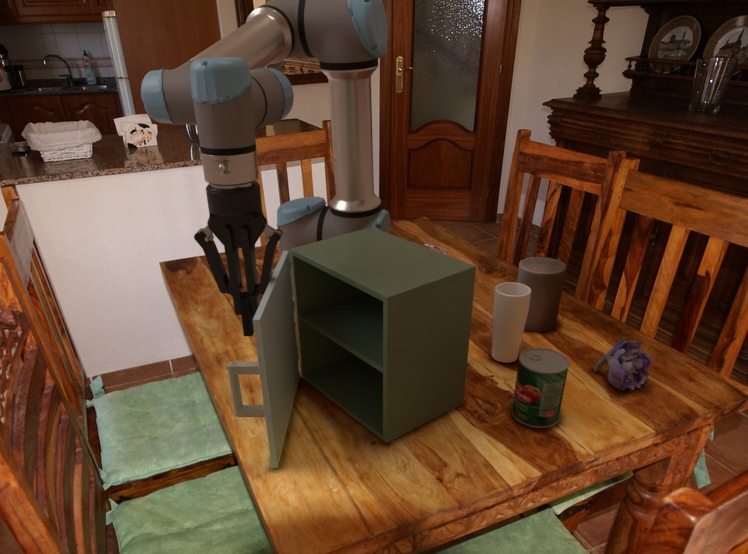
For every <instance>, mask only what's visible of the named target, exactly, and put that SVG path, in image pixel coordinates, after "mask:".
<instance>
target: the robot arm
mask: <svg viewBox="0 0 748 554" xmlns="http://www.w3.org/2000/svg"><path fill="white" fill-rule="evenodd" d="M388 41H389V29H388V20H387V14H386V9H385V6H384V3H383V1H382V0H269V1H267V2H265V3H263V4H261V5H260V6H258V7H256V8H255V9H253V10H252V11H251V12H250V14H248V16H247V17H246V19H245V23H244V24H242V25H241V26H239V27H238V28H236V29H235V30H233V31H231V32H230V33H229V34H227V35H225V36H224V37H222V38H221V39H219V40H218V41H216V42H215V43H213V44H212V45H210V46H208V47H207V48H206V49H204V50H203V51H201V52H199V53H197V54H196V55H195V56H193V57H192V58H190V59H189V60H187V61H186V62H184V63H182V64H181V65H179V66H177V67H176V68H173V69H167V68H160V69H155V70H150V71H148V72H147V73H146V74H145V75H144V77H143V79H142V81H141V86H140V97H141V102H142V103H143V107H144V110H145V112H146V113H147V115H148V116H149V117H150V118H151V119H152V120H153V121H154V122H157V123H160V124H169V125H173V126H178V125H187V126H189V125H192V126H195V125H196V127H197V132H198V138H199V139H198V141H199V150H200V157H201V164H202V171H203V176H204V177H203V178H204V181H205V182H206V183H208V184H207V185H206V187H205V193H206V201H207V208H208V213H209V215H208V220H207V222H206V224H207V225H206V226H204V227H202V228H199V229H198V230H197V231H196V232H195V234H194V235H193V239H194V241H195V242H196V243H197V244H198V245H199V246H200V247H201V249H202V251H203V253H204V256H205V258H206V261H207V263H208V266H209V267H210V271H211V274H212V276H213V278H214V281H215V283H216V286H217V288H218V291H219V292H220V293H221V294H224V295H225V294H228V295H230V296H231V297H232V301H233V308H234V309H233V311H234V314H235V315H236V316H241V324H242V330H243V331H242V332H243V337H253V336H254V335H255V334H254V326H253V318H254V316H255V314H256V311H257V309H258V307H259V304H260V295H264V293H265V291H266V289H267V286H268V284H269V282H270V280H271V277H272V275H273V269H274V262H275V257H276V250H277V245H279V255H280V257H281V255H282V252H283V251H289V260H290V271H291V283H292V295H293V304H294V293H293V281H292V270H291V258H290V249H291V248H295V247H299V246H303V245H306V244H310V243H314V242H318V241H321V240H325V239H329V238H333V237H336V236H340V235H344V234H348V233H351V232H355V231H359V230H363V229H366V228H370V227H373V228H376V229H378V230H381V231H384V232H386V233H389V232H390V225H391V215H390V212H389V211H388V210H386V209H382V199H381V198H380V197H379V196H378V195H377V194H375V182H374V181H375V179H374V178H375V177H374V144H373V141H374V140H373V109H372V108H373V106H372V105H373V104H372V76H373V74H374V72H375V71H376V70H377V69H378V68H379V59H381V58H382V57H384V56H385V55H386V53H387V50H388ZM294 58H311V59H313V58H314V59H318V61H319V70H320V72H322V73H323V75H325V76H326V78H327V80H328V82H327V83H328V95H329V97H328V98H329V112H330V125H331V128H330V129H331V141H332V142H331V143H332V156H333V157H332V158H333V159H332V160H333V172H334V173H333V175H334V188H335V195H334V196H333V198H332V199H331V200H330V201H329V205H327V201H326V199H325V198H324V197H321V196H306V197H299V198H295V199H291V200H288V201H285V202H283V203H281V204H280V205H279V206H278V208H277V210H276V227H277V228H274V227H272V226H271V225H269V224H268V220H267V218H266V217H265V215H264V212H263V204H262V203H263V202H262V191H261V184H260V183H259V182H258V179H260V169H259V168H260V167H259V160H258V151H257V142H256V141H257V140H256V139H257V138H256V130H257V129H262V128H264V127H267V126H273V125H275V124H277V123H279V122H280V121H282V120H283V119H285V118H287V116H289V114H290V112H291V111H292V108H293V105H294V98H295V95H294V89H293V86H292V83H291V81H290V80H289V78H288V77H287V76H286V75H285V74H284V73H283V72H282V71H280V70H278V69H276V68H271V67H267V66H269V65H272V64H273V65H274V64H275V65H276V64H279V63H282V62H283V61H284V60H286V59H294ZM263 233H264V241H265V242H266V243H267V244H266V246H265V248H264V249H265V250H264V255H263V260H262V261H263V262H262V263H263V264H262V269H261V273H260V274H261V275H260V279H258V278H259V277H258V268H257V258H256V243H257V242H258V240H259V239H260V237H261V236H262V234H263ZM215 238H217V240H218V241H219V242H220V243H221V244H222V246H223V248H224V249H223V250H224V255H225V256H226V263H227V270H226V267H225V265H224V262H223V259H222V258H221V254H220V252H219V250H218V247H217V244H216V241H215V240H214V239H215ZM239 249H241V255H242V256H243V265H244V275H245V283H246V291H243V289H244V287H245V286H244V285H243V279H242V270H241V269H242V268H241V262H240V261H241V260H240V253H239V252H240V251H239ZM280 257H279V258H280Z"/></svg>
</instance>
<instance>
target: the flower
mask: <svg viewBox="0 0 748 554" xmlns="http://www.w3.org/2000/svg"><path fill="white" fill-rule="evenodd" d="M643 343H644V341H643V340H634V341H632V340H631V341H626V340H624V339H621V340H619V341H617V342H616V343H615V345H613V346H612V347H611V348H610V349H609V350H608V351H607V352H606V353H605V354H604V355H603V356H602V357H601V358H600V360H598V362H596V364H595V366H594V367H593V372H594V373H597V372H599V369H601V367H602V366H604V365H608V368H609V371H608V373H607V380H608V382H609V383H610V384H611V385H612V386H613V387H614V388H615V389H617V390H618V391H626V389H630V390H632V391H633V390H636V389H641V388H642V386H641V385H644V384H645V383H646V380H649V378H650V373H649V371H648V370H649V369H650V367H651V365H652V358H651V354H649V353H647V352H645V351H642V350H640V348H641V347H642V346H641V344H643ZM635 388H636V389H635Z"/></svg>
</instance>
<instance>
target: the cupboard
mask: <svg viewBox="0 0 748 554" xmlns="http://www.w3.org/2000/svg"><path fill="white" fill-rule="evenodd" d="M290 258H291V270H292V281H293V293H294V303H293V306H294V318H295V322H296V329H297V340H298V352H299V356H298V365H299V376H300V378H301V379H302V380H304V381H305V382H306V383H307V384H309V385H311V386H312V387H313V388H314V389H315V390H317V391H318V392H320V393H321V395H323V396H325V397H326V398H327V399H328V400H330V401H331V402H332V403H334V404H335V405H336V406H337V407H339V408H340V409H342V410H343V411H344V412H345V413H347V414H348V415H349V416H350V417H352V418H353V419H354V420H356V421H357V422H358V423H359V424H361V425H362V426H363V427H365V428H366V429H367V430H368V431H370V432H371V433H373V434H374V435H375V436H376V437H378V438H379V439H381V440H382V442H384V443H386V444H388V443H390V442H392V441H394V440H396V439H398V438H400V437H401V436H404V435H405V434H408V433H409V432H411V431H413V430H416V429H417V428H418V427H421V426H422V425H424V424H426V423H429V422H430V421H433V420H435V419H436V418H438V417H440V416H442V415H444V414H445V413H448V412H450V411H451V410H453V409H455V408H457V407H459V406H461V405H463V404H464V403H465V393H466V381H467V371H468V363H469V361H468V359H469V349H470V338H471V327H472V315H473V304H474V293H475V282H476V271H477V265H474V264H471V263H468V262H465V261H463V260H461V259H457V258H455V257H452V256H450V255H447V254H445V253H442V252H439V251H436V250H434V249H431V248H429V247H426V246H424V245H421V244H418V243H415V242H413V241H410V240H407V239H404V238H402V237H399V236H397V235H394V234H391V233H389V232H388V233H386V232H384V231H381V230H378V229H376V228H373V227H370V228H366V229H363V230H359V231H355V232H351V233H348V234H344V235H340V236H336V237H333V238H329V239H325V240H321V241H318V242H314V243H310V244H306V245H303V246H299V247H295V248H291V249H290Z"/></svg>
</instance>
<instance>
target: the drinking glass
mask: <svg viewBox="0 0 748 554" xmlns="http://www.w3.org/2000/svg"><path fill="white" fill-rule="evenodd" d="M492 299H493V300H492V315H491V316H492V320H491V321H492V325H491V326H492V327H491V351H490V356H491V357H492V359H494V360H495V361H496V362H499V363H502V364H504V363H505V364H509V363H514V362H516V361H517V360H518V359H519V356H520V349H521V345H522V340H523V336H524V332H525V330H524V328H525V324H526V320H527V316H528V312H529V306H530V299H531V289H530V288H529V287H528V286H526V285H524V284H521V283H517V282H515V281H507V282H502V283H498V284H497V285H496V286H495V287H494V293H493V298H492Z"/></svg>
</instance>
